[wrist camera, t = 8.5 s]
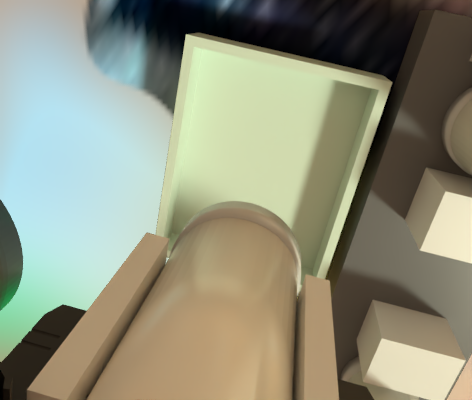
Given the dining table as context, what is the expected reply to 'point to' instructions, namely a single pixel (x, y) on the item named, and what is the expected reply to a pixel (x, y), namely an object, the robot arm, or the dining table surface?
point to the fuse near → (459, 131)
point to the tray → (269, 140)
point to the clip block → (411, 230)
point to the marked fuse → (215, 315)
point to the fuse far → (382, 396)
